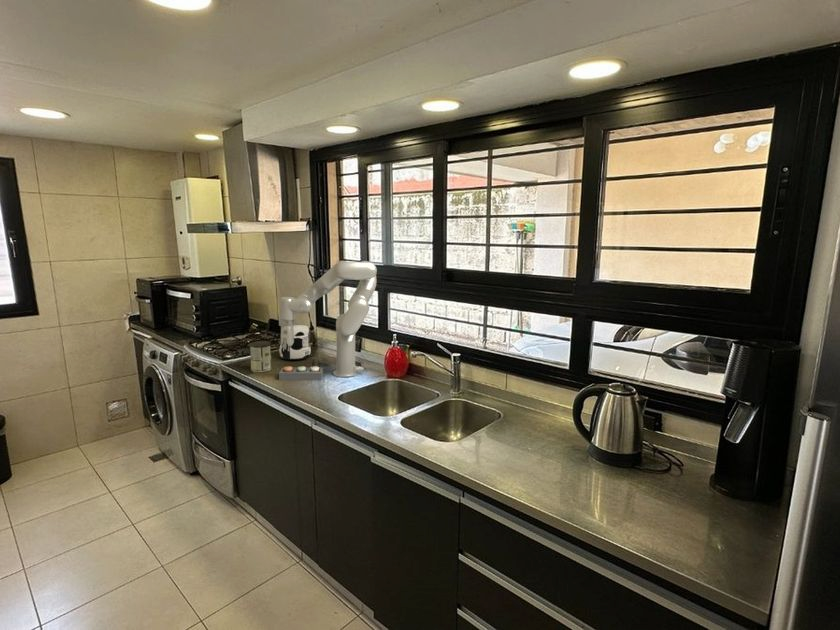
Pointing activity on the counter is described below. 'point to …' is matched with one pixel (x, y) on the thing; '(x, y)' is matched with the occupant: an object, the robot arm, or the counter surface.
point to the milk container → (299, 343)
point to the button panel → (301, 374)
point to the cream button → (315, 369)
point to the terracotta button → (288, 369)
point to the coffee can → (260, 356)
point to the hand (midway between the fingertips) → (286, 358)
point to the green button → (301, 369)
